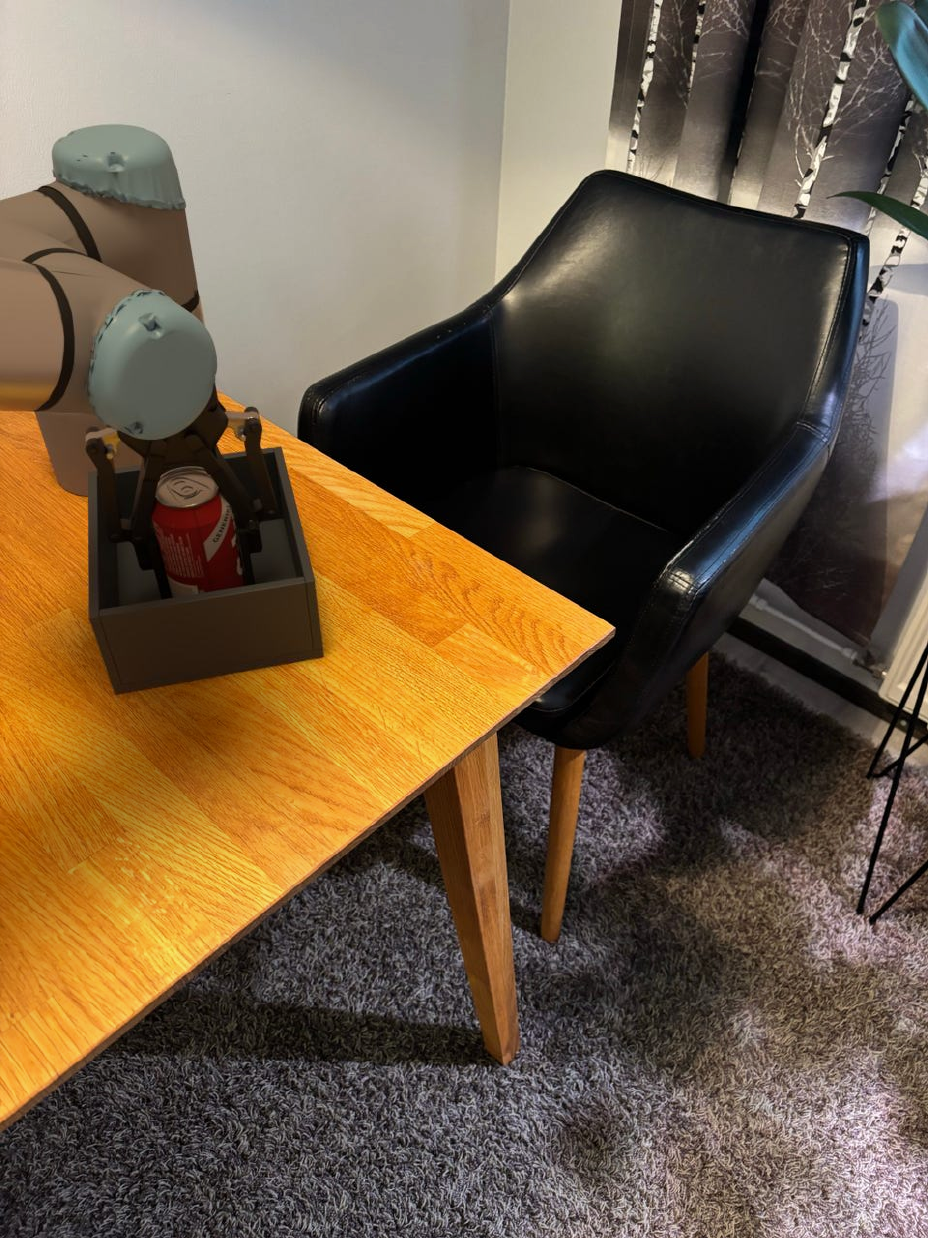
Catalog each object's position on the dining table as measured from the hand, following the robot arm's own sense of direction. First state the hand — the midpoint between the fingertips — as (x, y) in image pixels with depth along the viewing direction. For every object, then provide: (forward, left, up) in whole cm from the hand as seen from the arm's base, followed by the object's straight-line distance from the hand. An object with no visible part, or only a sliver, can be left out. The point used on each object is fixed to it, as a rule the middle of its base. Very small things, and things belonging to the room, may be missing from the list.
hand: (208, 584), depth 88 cm
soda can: (0, 0, -1) cm, 1 cm away
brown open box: (0, 0, -2) cm, 2 cm away
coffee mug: (-9, +25, -2) cm, 27 cm away
